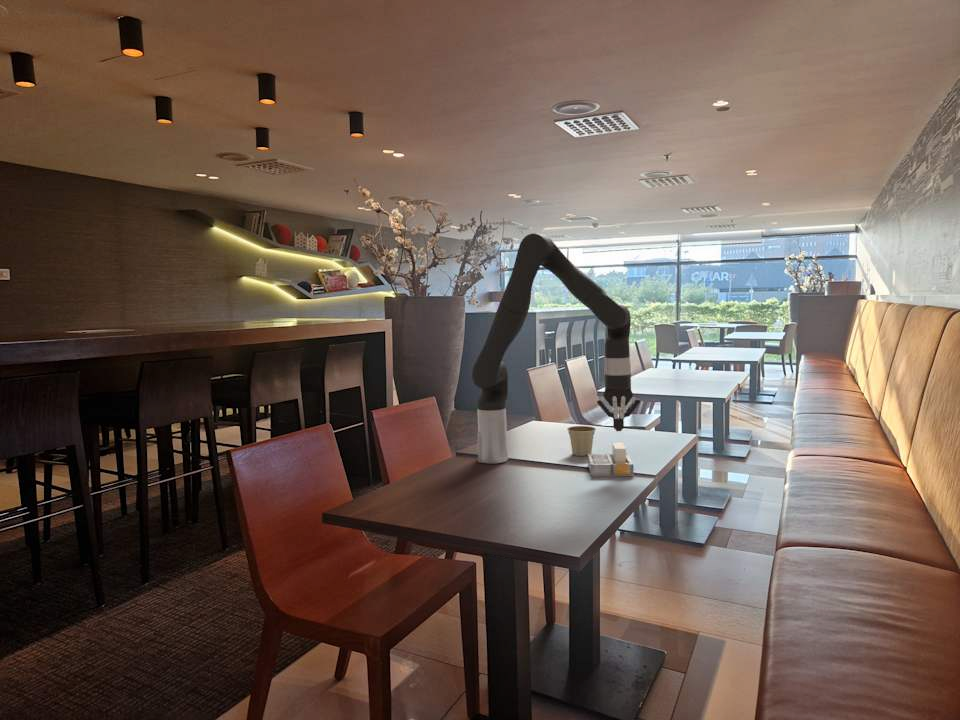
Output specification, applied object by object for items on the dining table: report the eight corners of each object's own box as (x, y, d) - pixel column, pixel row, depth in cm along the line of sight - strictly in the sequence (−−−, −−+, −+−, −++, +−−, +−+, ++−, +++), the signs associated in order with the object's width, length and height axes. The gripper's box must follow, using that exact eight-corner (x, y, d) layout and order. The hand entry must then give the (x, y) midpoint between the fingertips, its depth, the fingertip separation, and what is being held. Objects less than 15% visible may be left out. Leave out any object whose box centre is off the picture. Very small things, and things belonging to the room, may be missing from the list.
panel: (615, 472, 182) (615, 448, 182) (612, 465, 190) (612, 442, 190) (626, 472, 182) (625, 448, 181) (622, 465, 190) (622, 442, 189)
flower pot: (595, 450, 212) (594, 425, 211) (597, 457, 202) (597, 431, 202) (567, 451, 213) (566, 426, 212) (568, 457, 203) (567, 431, 203)
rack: (591, 477, 180) (591, 464, 180) (588, 465, 194) (587, 453, 193) (633, 476, 179) (633, 463, 179) (627, 464, 192) (627, 452, 192)
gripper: (595, 374, 180) (597, 433, 182) (642, 373, 179) (643, 433, 181) (593, 371, 188) (595, 428, 189) (638, 370, 187) (639, 427, 188)
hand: (618, 430), depth 185 cm, fingers closed
